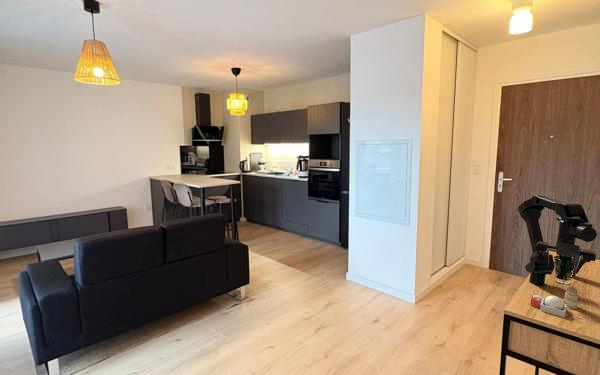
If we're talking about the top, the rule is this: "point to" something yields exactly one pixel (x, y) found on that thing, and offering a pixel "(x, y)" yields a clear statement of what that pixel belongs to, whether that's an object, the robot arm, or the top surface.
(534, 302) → the red die
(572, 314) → the top surface
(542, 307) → the game board
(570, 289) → the pawn
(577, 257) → the cup
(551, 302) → the white ball
